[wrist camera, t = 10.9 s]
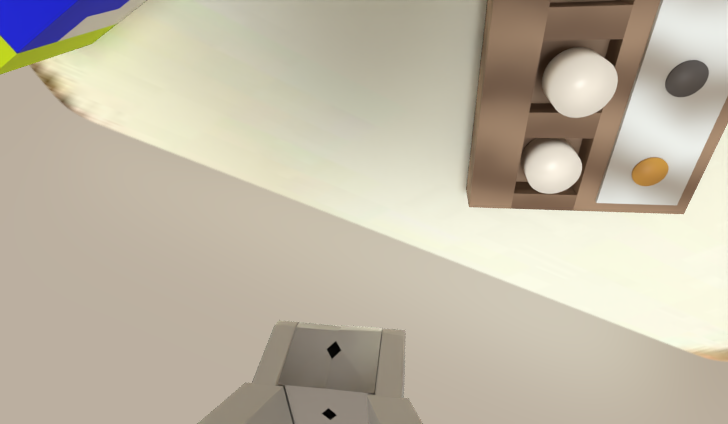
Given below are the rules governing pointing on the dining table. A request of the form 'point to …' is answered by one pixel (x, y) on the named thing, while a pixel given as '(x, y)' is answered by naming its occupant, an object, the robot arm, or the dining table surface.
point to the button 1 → (551, 165)
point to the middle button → (579, 82)
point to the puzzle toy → (54, 27)
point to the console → (618, 117)
